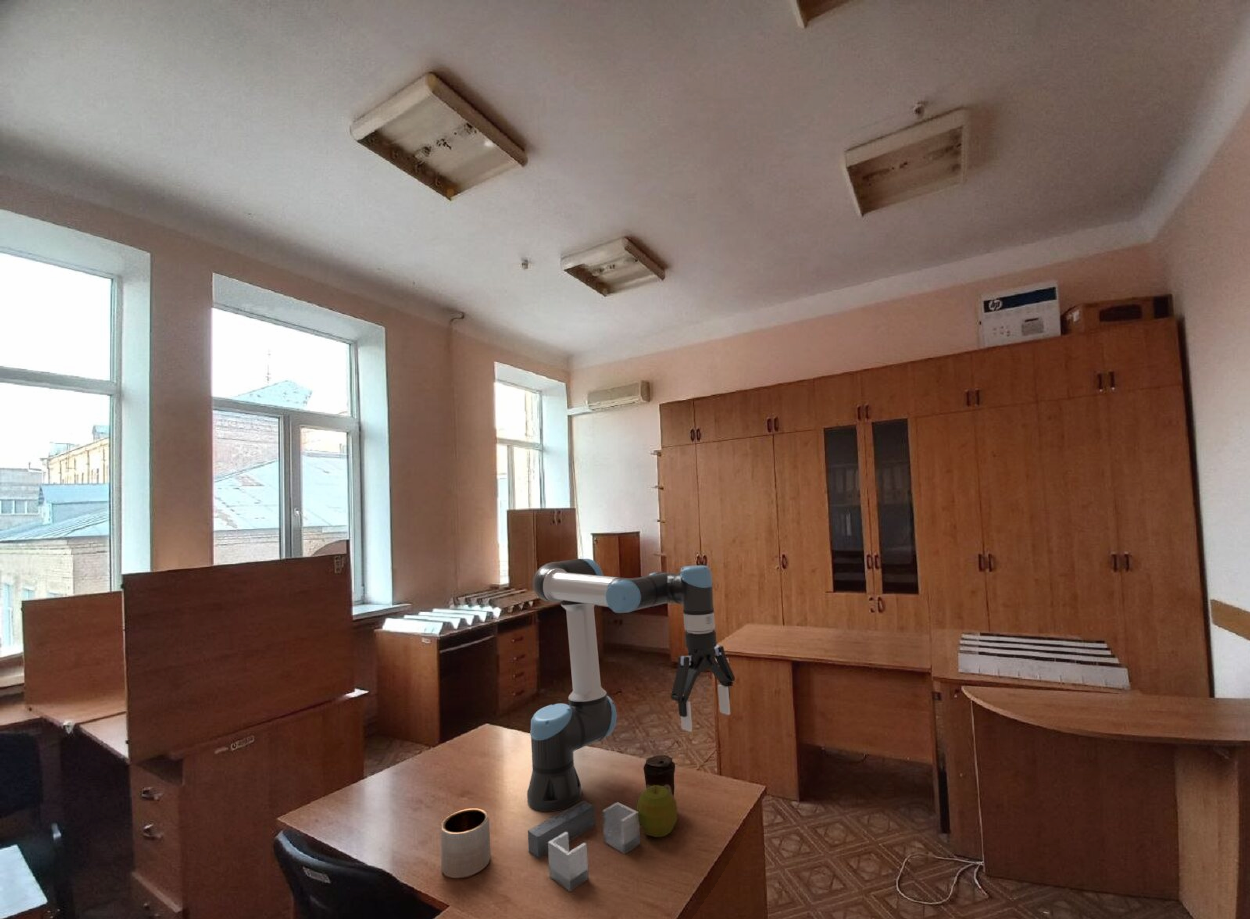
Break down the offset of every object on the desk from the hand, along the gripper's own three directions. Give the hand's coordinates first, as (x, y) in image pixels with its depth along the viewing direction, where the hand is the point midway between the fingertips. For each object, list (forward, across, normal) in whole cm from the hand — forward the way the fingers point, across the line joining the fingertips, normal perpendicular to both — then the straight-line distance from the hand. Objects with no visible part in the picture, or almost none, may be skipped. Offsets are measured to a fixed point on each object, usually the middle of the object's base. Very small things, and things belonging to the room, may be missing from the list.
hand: (706, 721), depth 126 cm
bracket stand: (+27, -24, +15) cm, 39 cm away
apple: (+27, -7, +12) cm, 31 cm away
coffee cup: (+27, 0, +18) cm, 32 cm away
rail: (+27, -25, +27) cm, 46 cm away
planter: (+27, -46, +35) cm, 64 cm away
